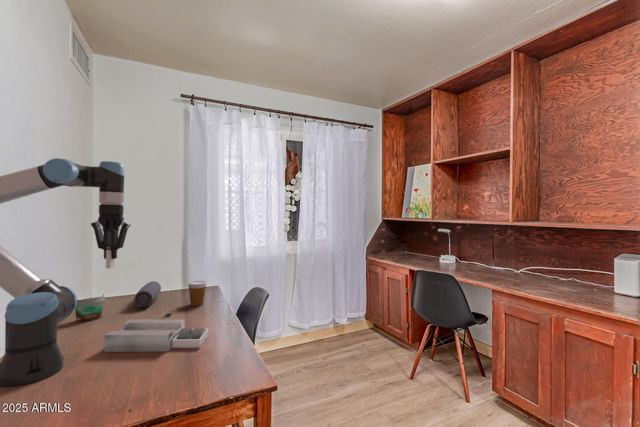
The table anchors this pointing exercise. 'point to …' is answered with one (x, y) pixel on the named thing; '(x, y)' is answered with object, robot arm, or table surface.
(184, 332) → the dark gray cube
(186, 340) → the tray
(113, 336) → the slot block
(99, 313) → the food container
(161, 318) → the tomahawk
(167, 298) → the table surface
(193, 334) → the dark grey cube
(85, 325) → the table surface
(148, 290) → the bluetooth speaker
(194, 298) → the disposable coffee cup
